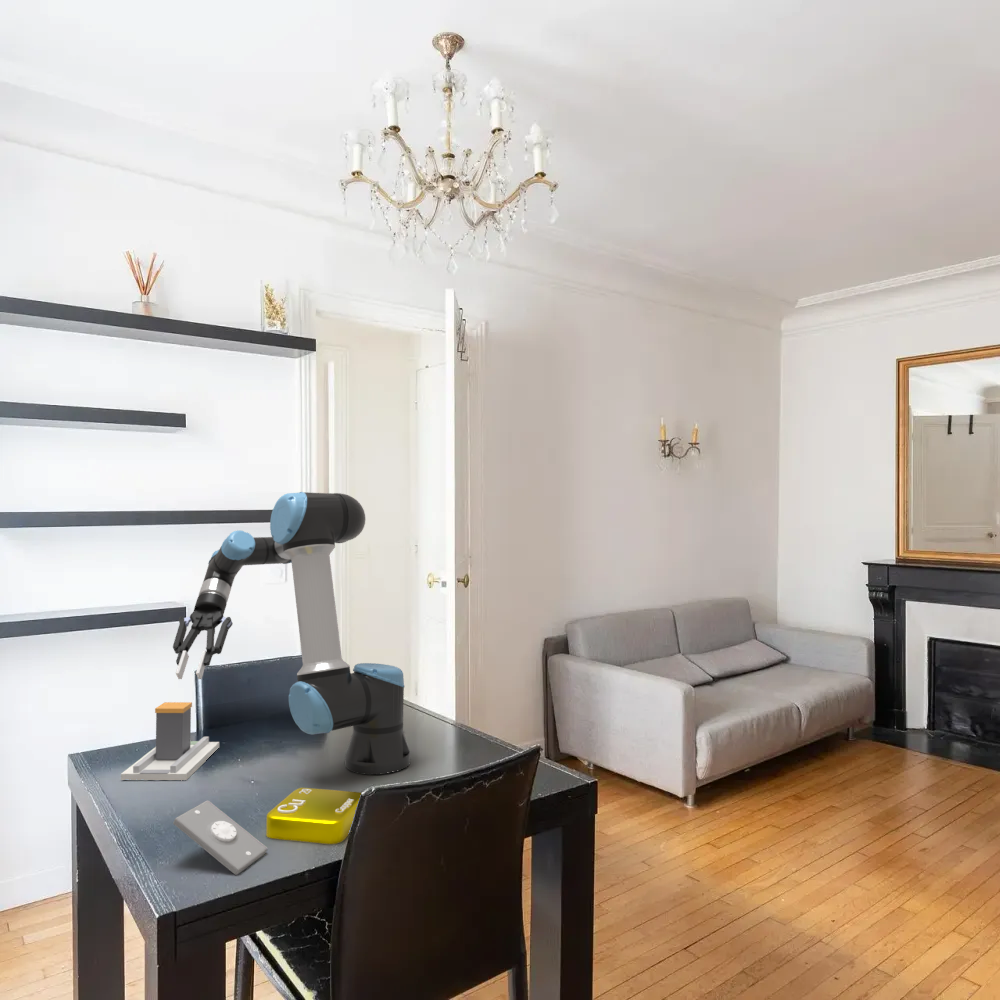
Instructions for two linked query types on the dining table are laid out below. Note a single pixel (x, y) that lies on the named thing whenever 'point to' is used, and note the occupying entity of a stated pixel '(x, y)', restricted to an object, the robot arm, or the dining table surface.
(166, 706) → the handle
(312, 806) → the element tile
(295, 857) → the dining table surface
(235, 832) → the light switch
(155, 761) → the railed base plate
